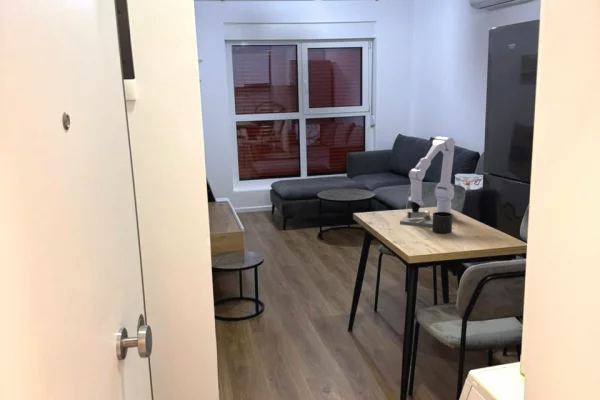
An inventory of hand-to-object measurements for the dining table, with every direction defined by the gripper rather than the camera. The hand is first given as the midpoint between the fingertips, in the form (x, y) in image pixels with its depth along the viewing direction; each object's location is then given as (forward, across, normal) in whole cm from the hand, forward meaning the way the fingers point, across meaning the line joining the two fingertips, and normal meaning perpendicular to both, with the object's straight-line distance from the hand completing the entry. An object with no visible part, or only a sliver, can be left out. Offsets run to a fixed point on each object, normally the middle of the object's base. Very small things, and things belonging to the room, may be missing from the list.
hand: (415, 215), depth 292 cm
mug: (+3, +24, +4) cm, 24 cm away
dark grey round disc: (+1, +2, +6) cm, 7 cm away
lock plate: (+3, +3, +4) cm, 6 cm away
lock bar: (0, +2, +1) cm, 2 cm away
